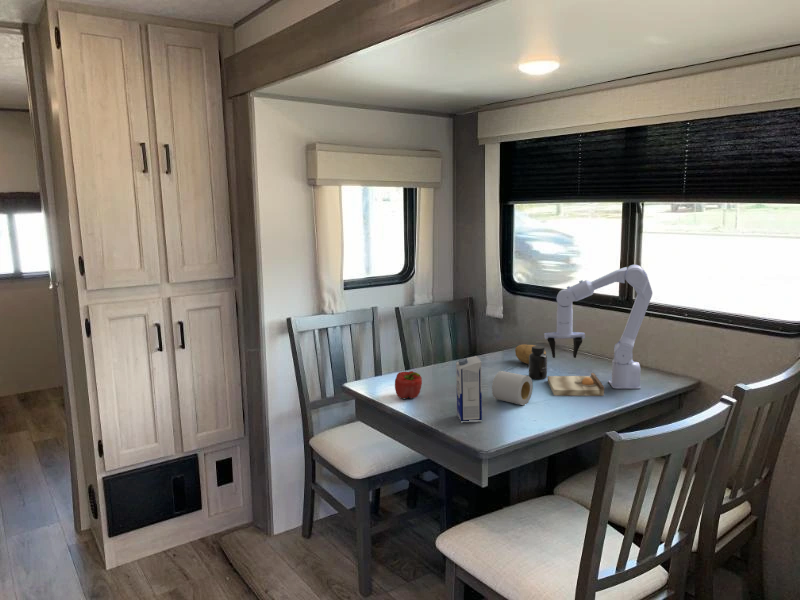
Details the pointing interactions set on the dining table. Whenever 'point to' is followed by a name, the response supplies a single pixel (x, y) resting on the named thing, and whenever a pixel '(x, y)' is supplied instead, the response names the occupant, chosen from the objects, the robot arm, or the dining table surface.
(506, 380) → the toilet paper
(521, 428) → the dining table surface
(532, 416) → the dining table surface
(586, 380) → the ball
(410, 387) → the vegetable
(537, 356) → the supplement bottle
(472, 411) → the milk carton
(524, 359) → the potato
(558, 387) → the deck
